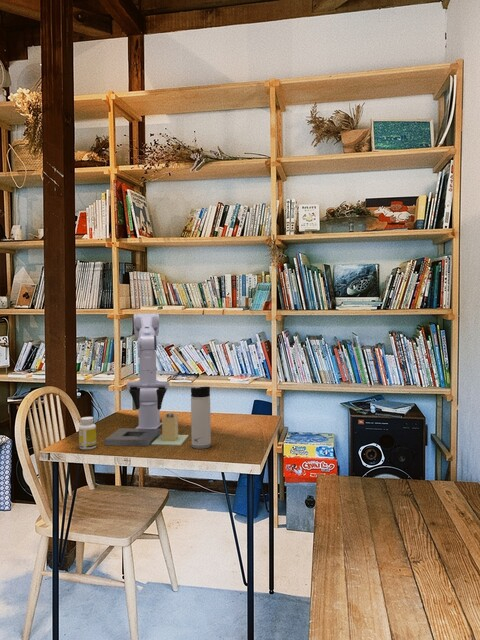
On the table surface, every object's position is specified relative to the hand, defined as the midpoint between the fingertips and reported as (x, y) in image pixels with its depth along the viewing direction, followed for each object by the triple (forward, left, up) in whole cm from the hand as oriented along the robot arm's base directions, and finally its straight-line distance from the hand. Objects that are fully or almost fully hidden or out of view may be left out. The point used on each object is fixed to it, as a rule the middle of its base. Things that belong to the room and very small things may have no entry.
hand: (148, 409), depth 177 cm
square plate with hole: (+1, -5, -10) cm, 12 cm away
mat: (+1, +8, -10) cm, 13 cm away
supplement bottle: (+12, -17, -11) cm, 23 cm away
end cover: (+2, +8, -10) cm, 13 cm away
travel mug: (+8, +20, -11) cm, 24 cm away
